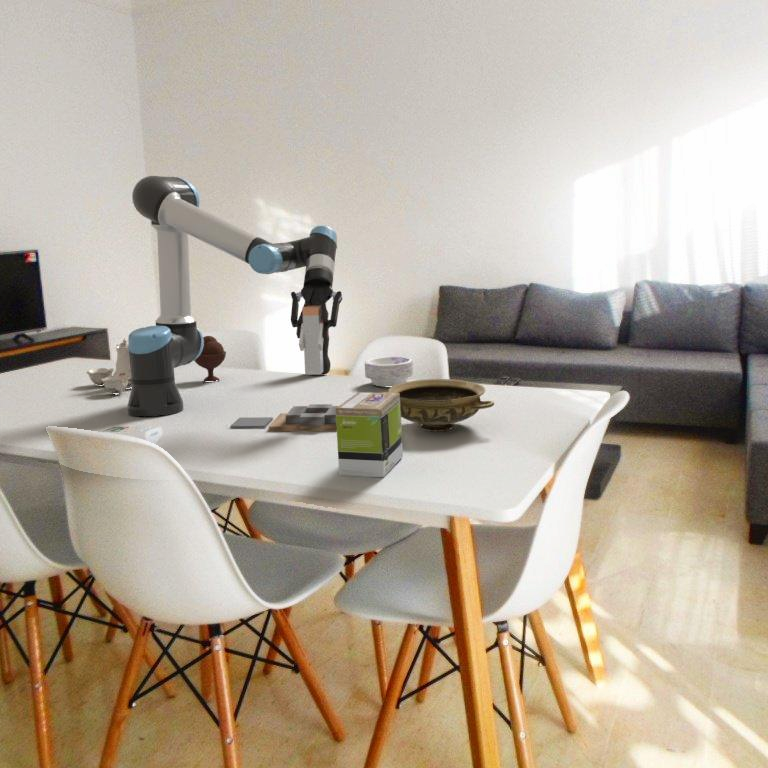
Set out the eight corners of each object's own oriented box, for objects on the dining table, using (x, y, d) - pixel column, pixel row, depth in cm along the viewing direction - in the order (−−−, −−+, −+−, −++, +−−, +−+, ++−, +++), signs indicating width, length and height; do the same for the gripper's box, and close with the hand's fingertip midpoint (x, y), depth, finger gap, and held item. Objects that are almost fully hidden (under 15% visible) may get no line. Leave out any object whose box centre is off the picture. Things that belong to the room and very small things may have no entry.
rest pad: (230, 428, 209) (230, 426, 209) (239, 419, 218) (239, 417, 218) (264, 428, 209) (264, 425, 208) (272, 419, 217) (272, 417, 217)
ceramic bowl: (360, 432, 201) (359, 393, 199) (406, 411, 222) (405, 375, 220) (473, 446, 187) (473, 403, 185) (511, 422, 207) (511, 383, 205)
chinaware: (81, 390, 271) (71, 342, 267) (129, 378, 281) (119, 331, 277) (113, 404, 250) (102, 351, 246) (164, 390, 260) (154, 339, 256)
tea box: (360, 455, 182) (358, 390, 179) (403, 457, 179) (402, 392, 177) (337, 475, 168) (334, 405, 165) (384, 479, 165) (382, 407, 162)
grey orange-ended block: (305, 374, 207) (302, 307, 203) (308, 371, 211) (305, 305, 207) (320, 374, 206) (318, 307, 203) (323, 371, 210) (320, 305, 207)
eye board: (268, 431, 205) (268, 417, 205) (280, 417, 219) (280, 404, 218) (355, 430, 203) (355, 416, 203) (362, 417, 217) (361, 404, 216)
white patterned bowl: (355, 386, 258) (354, 361, 256) (386, 378, 269) (386, 354, 267) (392, 392, 248) (391, 366, 246) (423, 383, 259) (422, 358, 257)
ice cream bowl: (187, 382, 272) (184, 337, 269) (212, 376, 281) (209, 333, 278) (210, 385, 266) (206, 339, 263) (234, 379, 275) (231, 335, 272)
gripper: (352, 284, 219) (346, 356, 206) (289, 285, 220) (279, 356, 207) (349, 265, 212) (342, 338, 199) (284, 266, 214) (273, 338, 201)
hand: (310, 347), depth 203 cm, fingers closed on grey orange-ended block, 4 cm apart
